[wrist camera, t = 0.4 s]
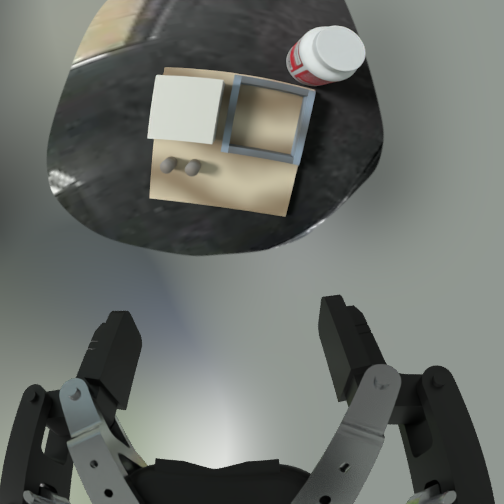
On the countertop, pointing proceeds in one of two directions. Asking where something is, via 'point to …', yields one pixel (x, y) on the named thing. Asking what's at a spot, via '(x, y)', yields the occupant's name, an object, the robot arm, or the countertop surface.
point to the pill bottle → (325, 56)
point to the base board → (239, 147)
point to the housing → (185, 108)
